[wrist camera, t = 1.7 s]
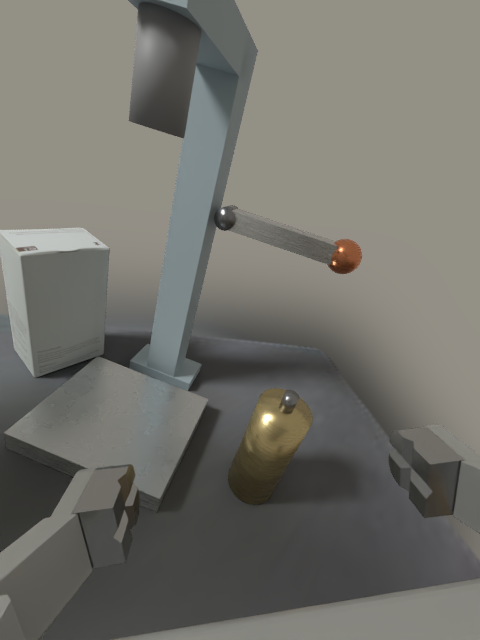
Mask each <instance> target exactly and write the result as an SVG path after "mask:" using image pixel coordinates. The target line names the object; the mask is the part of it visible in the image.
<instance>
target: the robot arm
mask: <svg viewBox="0 0 480 640" xmlns="http://www.w3.org/2000/svg"><path fill="white" fill-rule="evenodd" d="M390 443H391V444H392V446H393V447H394V448H393V449H392V450H391V452H390V453H389V467H390V470H391V473H392V475H393V477H394V479H395V481H396V482H397V483H398V485H399V486H400V487H402V488H404V489H406V490H407V491H409V499H410V500H411V502H412V503H413V504H414V506H415V507H416V508H417V509H418V511H419V512H420V513H421V515H422V516H423V517H424V518H429V517H437V516H446V515H453V516H454V517H455V518H457V519H458V520H460V521H461V522H463V523H464V524H466V525H467V526H469V527H470V528H472V529H473V530H475V531H476V532H478V533H479V534H480V455H479V454H477V453H476V452H475V451H474V450H472V449H471V448H470V447H469V446H467V445H466V444H465V443H464V442H462V441H461V440H460V439H459V438H457V437H456V436H455V435H454V434H452V433H451V432H450V431H449V430H447V429H446V428H445V427H444V426H441V425H439V424H435V425H429V426H423V427H418V428H411V429H403V430H396V431H392V433H391V435H390ZM134 478H135V471H134V467H133V465H131V464H127V465H117V466H108V467H98V468H91V469H82V470H79V471H78V472H77V473H76V474H75V476H74V477H73V479H72V481H71V483H70V484H69V486H68V488H67V489H66V491H65V493H64V494H63V496H62V498H61V500H60V501H59V503H58V505H57V506H56V508H55V510H54V512H53V513H52V515H51V517H49V518H44V519H43V520H41V521H40V522H39V523H38V524H36V525H35V526H34V527H32V528H31V529H30V530H29V531H27V532H26V533H25V534H23V535H22V536H21V537H20V538H18V539H17V540H16V541H15V542H13V543H12V544H11V545H9V546H8V547H7V548H6V549H4V550H3V551H2V552H0V640H38V639H39V638H40V637H41V636H42V634H43V633H44V632H45V631H46V629H47V628H48V627H49V625H50V624H51V623H52V622H53V620H54V619H55V618H56V617H57V615H58V614H59V613H60V612H61V610H62V609H63V608H64V607H65V605H66V604H67V603H68V601H69V600H70V599H71V598H72V596H73V595H74V594H75V593H76V591H77V590H78V589H79V588H80V586H81V585H82V584H83V583H84V581H85V580H86V579H87V577H88V576H89V575H90V574H91V572H92V571H93V570H92V569H94V568H99V567H105V566H110V565H116V564H121V563H126V560H127V556H128V553H129V549H130V545H131V542H132V534H131V529H132V527H133V526H134V525H135V524H136V523H137V519H138V515H139V505H140V499H139V490H138V487H137V486H136V485H135V484H133V481H134ZM111 640H480V578H477V579H471V580H465V581H459V582H453V583H447V584H441V585H435V586H429V587H423V588H417V589H411V590H405V591H400V592H394V593H388V594H382V595H376V596H370V597H364V598H358V599H352V600H346V601H340V602H334V603H328V604H322V605H316V606H310V607H304V608H298V609H292V610H285V611H279V612H273V613H267V614H261V615H255V616H249V617H243V618H237V619H231V620H225V621H219V622H213V623H207V624H201V625H195V626H189V627H183V628H177V629H171V630H165V631H159V632H153V633H147V634H141V635H135V636H129V637H123V638H117V639H111Z"/></svg>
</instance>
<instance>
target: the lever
mask: <svg viewBox="0 0 480 640" xmlns="http://www.w3.org/2000/svg"><path fill="white" fill-rule="evenodd" d="M214 222H215V225H216V226H217V227H218V228H219V229H221V230H224V231H225V230H229V231H232V232H235V233H238V234H241V235H243V236H246V237H250V238H252V239H255V240H258V241H261V242H264V243H267V244H270V245H273V246H275V247H279V248H282V249H284V250H287V251H290V252H293V253H296V254H299V255H302V256H305V257H307V258H311V259H313V260H316V261H319V262H322V263H325V264H327V265H328V267H329V268H330V269H331V270H332V271H334V272H335V273H339V274H347V273H350V272H352V271H354V270H355V269H356V268H357V267H358V266H359V264H360V262H361V259H362V252H361V249H360V247H359V246H358V244H357V243H356V242H354V241H352V240H349V239H342V240H338V241H333V240H330V239H327V238H324V237H321V236H318V235H315V234H312V233H309V232H306V231H303V230H300V229H296V228H294V227H291V226H288V225H285V224H282V223H279V222H276V221H273V220H270V219H267V218H264V217H261V216H258V215H255V214H252V213H249V212H246V211H243V210H240V209H238V208H237V207H236V206H233V205H230V206H227V207H224V208H221V209H219V210H217V211H216V213H215V215H214Z"/></svg>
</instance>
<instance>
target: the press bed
mask: <svg viewBox="0 0 480 640" xmlns="http://www.w3.org/2000/svg"><path fill="white" fill-rule="evenodd" d="M207 402H208V399H206V398H204V397H201V396H198V395H196V394H193V393H191V392H188V391H186V390H183V389H181V388H178V387H175V386H173V385H170V384H168V383H165V382H163V381H160V380H158V379H155V378H152V377H150V376H147V375H145V374H142V373H140V372H137V371H135V370H132V369H129V368H127V367H124V366H122V365H119V364H117V363H114V362H112V361H109V360H106V359H104V358H101V357H99V356H97V357H96V358H95V359H94V360H92V361H91V362H90V363H89V364H87V365H86V366H85V367H84V368H83V369H81V370H80V371H79V372H78V373H76V374H75V375H74V376H73V377H72V378H70V379H69V380H68V381H67V382H65V383H64V384H63V385H62V386H61V387H59V388H58V389H57V390H56V391H54V392H53V393H52V394H51V395H49V396H48V397H47V398H46V399H45V400H43V401H42V402H41V403H40V404H38V405H37V406H36V407H35V408H34V409H32V410H31V411H30V412H29V413H27V414H26V415H25V416H24V417H23V418H21V419H20V420H19V421H18V422H16V423H15V424H14V425H13V426H12V427H10V428H9V429H8V430H7V431H5V432H4V438H5V444H6V449H9V450H11V451H13V452H16V453H18V454H20V455H23V456H25V457H27V458H30V459H32V460H34V461H37V462H39V463H41V464H44V465H46V466H48V467H51V468H53V469H55V470H58V471H60V472H62V473H65V474H67V475H69V476H72V477H74V476H75V474H76V473H77V472H78V471H79V470H82V469H91V468H98V467H108V466H117V465H127V464H131V465H133V467H134V471H135V478H134V481H133V484H135V485H136V486H137V487H138V490H139V499H140V506H142V507H144V508H147V509H149V510H151V511H154V512H157V510H158V508H159V506H160V504H161V502H162V500H163V498H164V496H165V493H166V491H167V489H168V487H169V485H170V483H171V481H172V479H173V477H174V475H175V473H176V470H177V468H178V466H179V464H180V462H181V460H182V458H183V456H184V454H185V452H186V449H187V447H188V445H189V443H190V441H191V439H192V437H193V435H194V433H195V431H196V429H197V426H198V424H199V422H200V420H201V418H202V416H203V414H204V412H205V409H206V405H207Z"/></svg>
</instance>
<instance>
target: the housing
mask: <svg viewBox="0 0 480 640" xmlns="http://www.w3.org/2000/svg"><path fill="white" fill-rule="evenodd" d="M312 419H313V418H312V413H311V410H310V408H309V407H308V405H307V404H306V403H305V402H304V401H303V400H302V399H301V398H300V397H299V395H298V394H297V393H296V392H295V391H292V390H284V389H277V388H274V389H268V390H266V391H264V392H263V393H262V394H261V396H260V398H259V400H258V403H257V405H256V407H255V410H254V412H253V414H252V417H251V419H250V422H249V424H248V426H247V429H246V431H245V434H244V436H243V438H242V441H241V443H240V446H239V448H238V450H237V453H236V455H235V457H234V460H233V462H232V465H231V467H230V469H229V473H228V482H229V486H230V488H231V490H232V492H233V493H234V494H235V495H236V496H237V497H238V498H239V499H240V500H242V501H243V502H245V503H248V504H252V505H258V504H262V503H264V502H266V501H267V500H268V499H269V498H270V496H271V495H272V493H273V491H274V489H275V488H276V486H277V484H278V482H279V481H280V479H281V477H282V475H283V473H284V472H285V470H286V468H287V466H288V465H289V463H290V461H291V459H292V458H293V456H294V454H295V452H296V450H297V449H298V447H299V445H300V443H301V442H302V440H303V438H304V436H305V435H306V433H307V431H308V429H309V427H310V426H311V424H312Z"/></svg>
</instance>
